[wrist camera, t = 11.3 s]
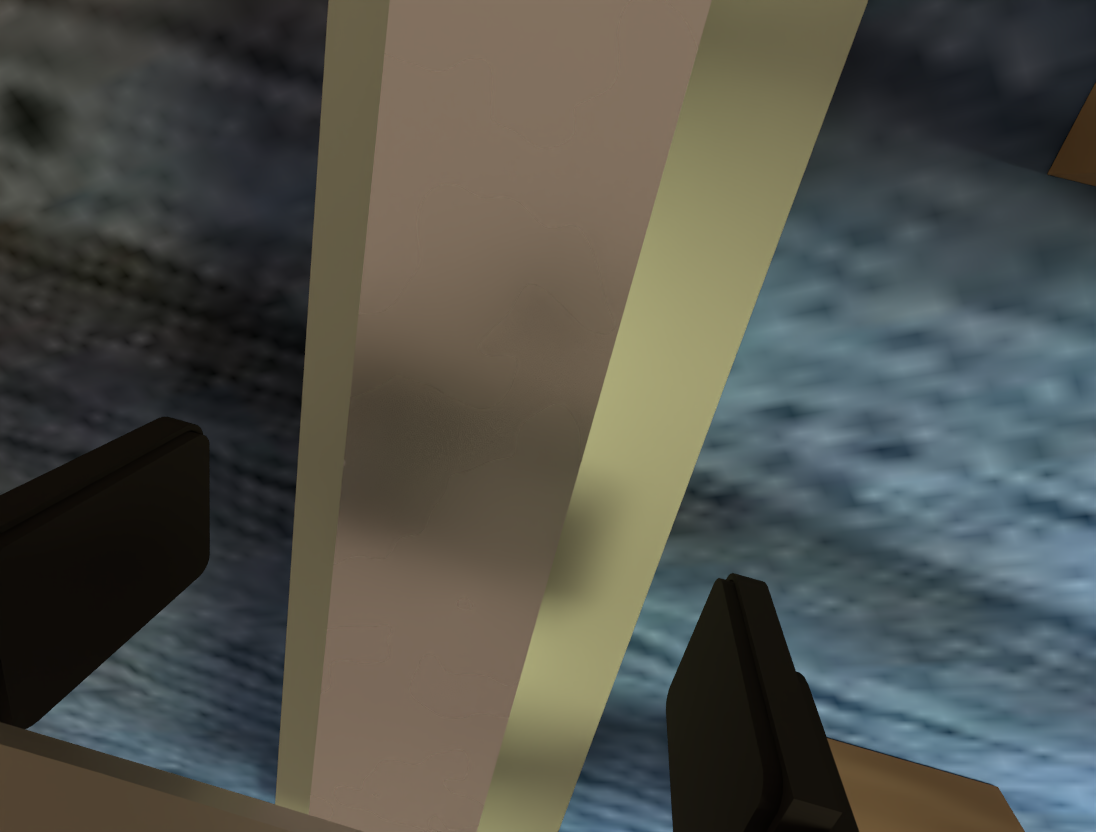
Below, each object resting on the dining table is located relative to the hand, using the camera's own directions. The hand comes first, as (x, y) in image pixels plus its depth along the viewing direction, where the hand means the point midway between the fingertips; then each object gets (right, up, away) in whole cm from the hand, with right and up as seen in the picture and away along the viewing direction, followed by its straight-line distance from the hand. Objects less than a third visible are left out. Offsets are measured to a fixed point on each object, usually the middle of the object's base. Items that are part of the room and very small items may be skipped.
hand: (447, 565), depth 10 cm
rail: (0, +1, +2) cm, 2 cm away
